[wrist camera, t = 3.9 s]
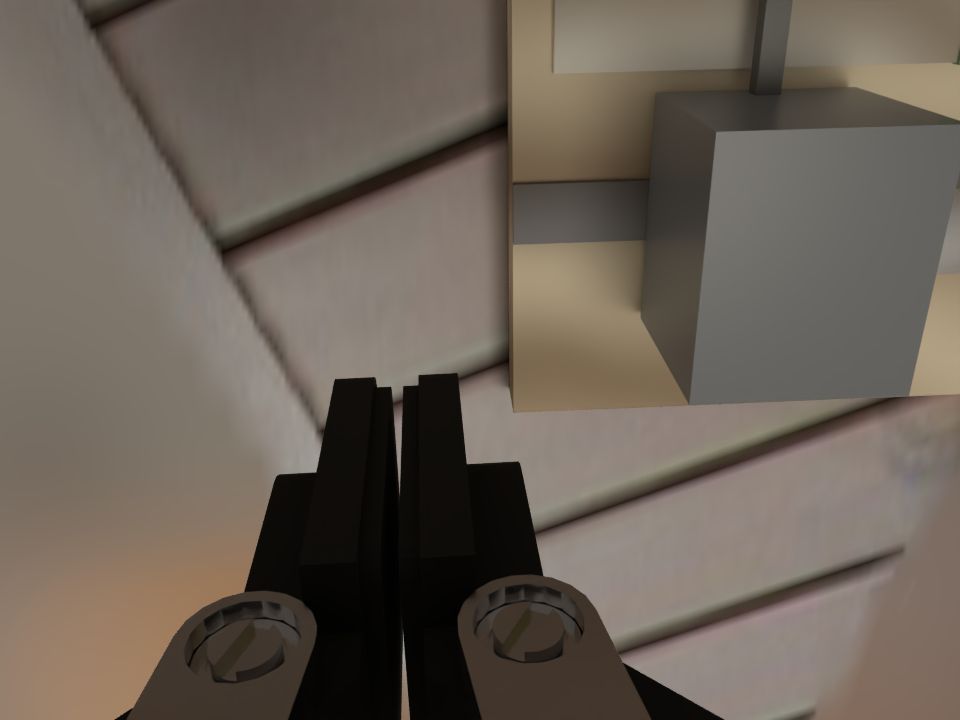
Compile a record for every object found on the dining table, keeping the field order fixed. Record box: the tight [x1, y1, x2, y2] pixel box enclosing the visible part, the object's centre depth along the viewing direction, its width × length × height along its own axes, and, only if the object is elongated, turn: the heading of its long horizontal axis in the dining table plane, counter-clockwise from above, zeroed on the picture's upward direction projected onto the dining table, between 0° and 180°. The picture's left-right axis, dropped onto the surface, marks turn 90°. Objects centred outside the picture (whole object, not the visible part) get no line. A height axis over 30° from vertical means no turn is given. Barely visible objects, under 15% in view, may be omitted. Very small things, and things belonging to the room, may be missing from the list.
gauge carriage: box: [640, 0, 960, 405], centre depth 19 cm, size 9×7×5 cm
